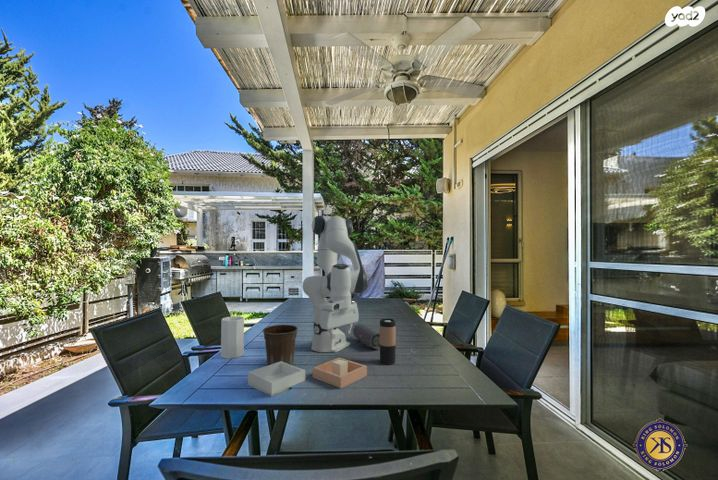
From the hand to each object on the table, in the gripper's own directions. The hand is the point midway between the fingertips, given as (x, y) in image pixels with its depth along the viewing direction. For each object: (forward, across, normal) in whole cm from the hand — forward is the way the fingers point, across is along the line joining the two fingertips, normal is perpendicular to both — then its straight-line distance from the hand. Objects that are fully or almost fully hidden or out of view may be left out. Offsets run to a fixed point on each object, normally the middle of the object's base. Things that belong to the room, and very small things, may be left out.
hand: (340, 336), depth 135 cm
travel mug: (+18, -29, +4) cm, 34 cm away
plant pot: (+18, +5, -34) cm, 39 cm away
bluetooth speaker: (+18, -44, -20) cm, 52 cm away
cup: (+18, +14, -62) cm, 66 cm away
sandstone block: (+17, 0, 0) cm, 17 cm away
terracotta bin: (+18, 0, 0) cm, 18 cm away
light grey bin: (+18, +20, -16) cm, 31 cm away
